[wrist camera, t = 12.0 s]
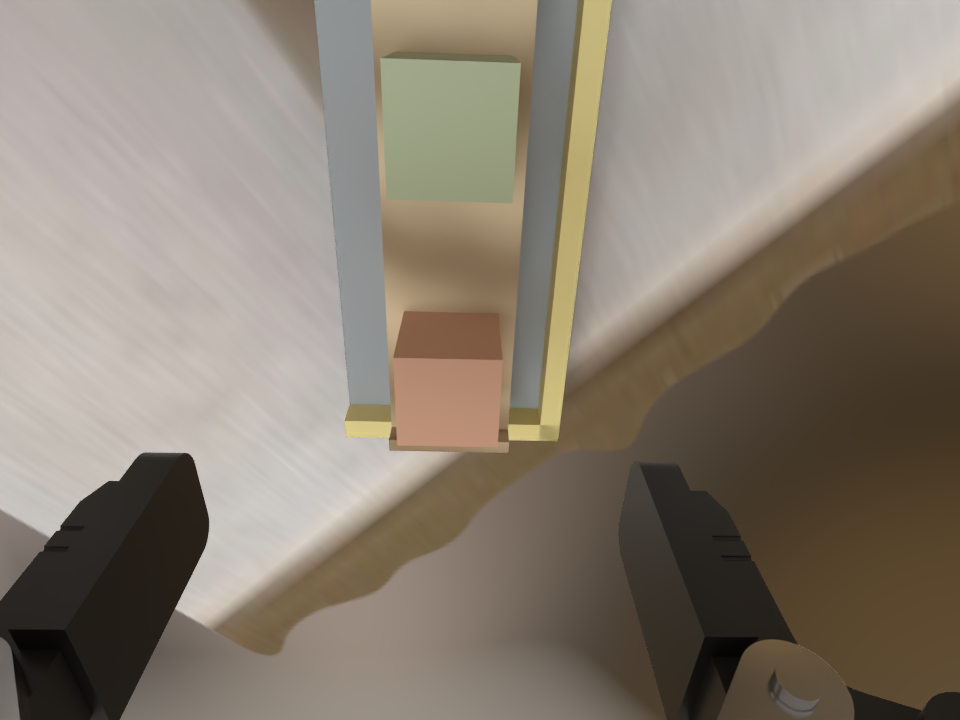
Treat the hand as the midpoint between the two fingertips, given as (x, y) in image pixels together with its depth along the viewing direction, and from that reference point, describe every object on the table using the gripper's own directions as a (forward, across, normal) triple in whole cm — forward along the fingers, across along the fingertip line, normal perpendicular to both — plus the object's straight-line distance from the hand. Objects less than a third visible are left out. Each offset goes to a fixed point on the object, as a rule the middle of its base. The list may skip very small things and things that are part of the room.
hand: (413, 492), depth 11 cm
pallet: (+18, 0, 0) cm, 18 cm away
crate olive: (+14, 0, -5) cm, 15 cm away
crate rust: (+14, 0, +5) cm, 15 cm away
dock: (+22, 0, 0) cm, 22 cm away
